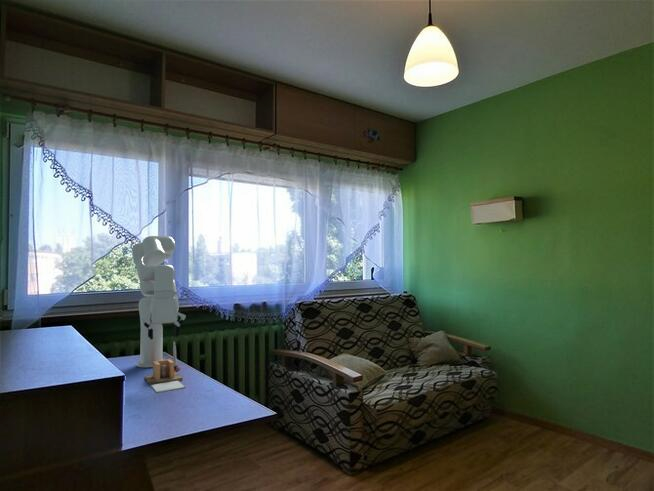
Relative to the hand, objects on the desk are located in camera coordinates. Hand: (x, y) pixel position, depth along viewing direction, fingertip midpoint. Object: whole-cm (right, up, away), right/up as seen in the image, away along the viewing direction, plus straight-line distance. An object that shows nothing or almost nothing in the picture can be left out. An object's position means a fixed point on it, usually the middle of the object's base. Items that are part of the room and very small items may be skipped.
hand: (163, 337), depth 169 cm
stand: (0, -17, 0) cm, 17 cm away
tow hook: (-3, -18, +12) cm, 22 cm away
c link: (0, -16, 0) cm, 16 cm away
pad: (+6, -16, -11) cm, 20 cm away
